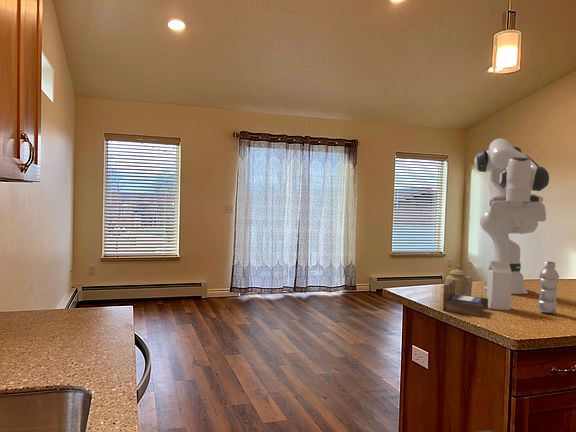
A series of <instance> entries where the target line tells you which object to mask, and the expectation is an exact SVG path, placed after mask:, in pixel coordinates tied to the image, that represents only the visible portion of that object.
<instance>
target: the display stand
mask: <svg viewBox="0 0 576 432" xmlns="http://www.w3.org/2000/svg"><path fill="white" fill-rule="evenodd" d="M445 283H446V282H445ZM454 295H458V294H455V280H451V281H449V282H448V283H446V284H444V285H443V297H442V298H443V301H442V311H444V312H449V313H456V314H457V313H458V314H461V315H462V314H463V315H469V316H470V315H471V316H476V317H477V316H478V317H483V315H484V313H483V312H484V309H485V308H487V310H488V309H489V307H488V298H487V297H481V296H480V297H479V296H476V297H477V298H481V305H477V304H470V303H463V302H456V301H450V299H451V298H452V297H453V296H454ZM463 296H466V295H463ZM470 297H474V296H472V295H471V296H470Z"/></svg>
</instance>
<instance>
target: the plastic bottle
mask: <svg viewBox="0 0 576 432" xmlns="http://www.w3.org/2000/svg"><path fill="white" fill-rule="evenodd" d="M543 267H544V268H543V269H542V270H541V271H540V272H539V286H540V287H539V288H540V290H539V298H538V301H537V310H538V311H539V312H541V313H544V314H555V313H556V312H557V311H558V303H557V290H558V284H559V280H560V276H559V275H560V274H559V273H558V271H557V270H556V269H555V268H556V262H555V261H544V262H543Z"/></svg>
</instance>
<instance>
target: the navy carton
mask: <svg viewBox="0 0 576 432" xmlns="http://www.w3.org/2000/svg"><path fill="white" fill-rule="evenodd" d="M477 297H478V296H473V297H470V296H463V295H454V296H453V297H452V298H451V299H450V301H456V302H463V303H470V304H477V305H481V298H482V297H481V298H477Z"/></svg>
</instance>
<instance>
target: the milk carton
mask: <svg viewBox="0 0 576 432" xmlns="http://www.w3.org/2000/svg"><path fill="white" fill-rule="evenodd" d="M486 283H487V285H486V286H487V289H486V298H488V308H489V309H491V310H498V311H499V310H501V311H511V302H512V301H511V300H512V294H511V285H512V271H511V268H510V262H501V261H494V260H491V261H490V264H489V266H488V269H487V282H486Z"/></svg>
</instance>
